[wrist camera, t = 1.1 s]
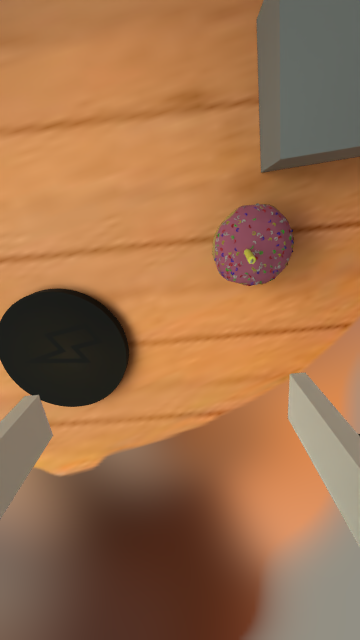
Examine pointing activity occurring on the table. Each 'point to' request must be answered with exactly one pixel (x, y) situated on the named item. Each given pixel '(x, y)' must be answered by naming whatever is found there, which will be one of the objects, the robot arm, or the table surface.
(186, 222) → the table surface
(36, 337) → the wireless charger
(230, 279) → the cupcake
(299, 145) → the plinth
